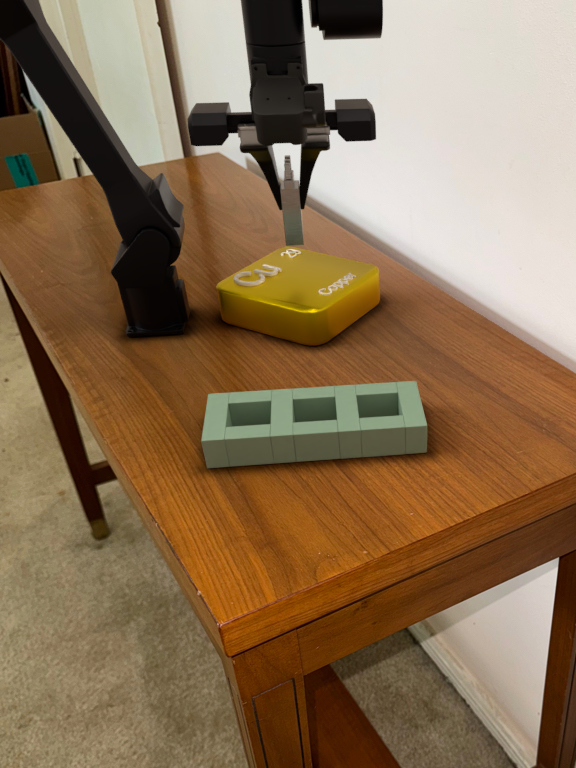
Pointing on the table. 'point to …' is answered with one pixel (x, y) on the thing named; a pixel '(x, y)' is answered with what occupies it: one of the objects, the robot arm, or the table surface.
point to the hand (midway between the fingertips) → (291, 208)
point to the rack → (313, 424)
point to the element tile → (299, 295)
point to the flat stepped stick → (291, 206)
